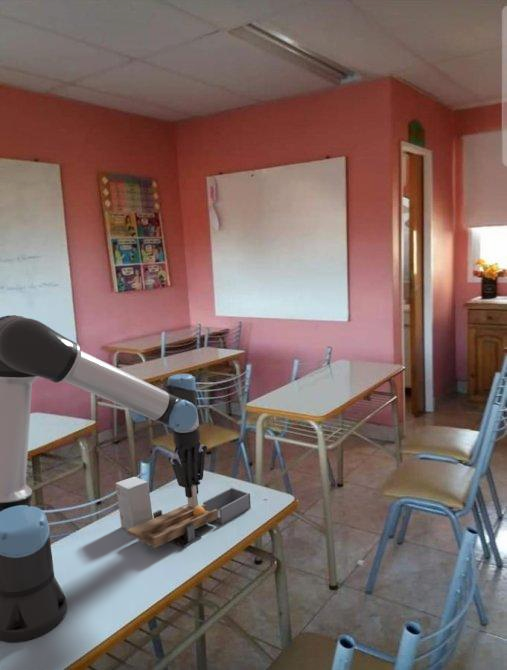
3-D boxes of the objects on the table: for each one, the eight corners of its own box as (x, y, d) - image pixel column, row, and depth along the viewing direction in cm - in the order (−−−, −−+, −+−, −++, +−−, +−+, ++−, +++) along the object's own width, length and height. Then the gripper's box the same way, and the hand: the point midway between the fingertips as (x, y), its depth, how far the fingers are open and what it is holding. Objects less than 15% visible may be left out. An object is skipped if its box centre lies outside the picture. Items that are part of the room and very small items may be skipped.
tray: (222, 524, 155) (221, 509, 154) (204, 516, 160) (203, 502, 159) (250, 507, 164) (249, 493, 163) (232, 501, 169) (231, 487, 168)
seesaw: (155, 547, 139) (154, 538, 138) (126, 533, 147) (126, 524, 146) (218, 518, 155) (217, 509, 155) (189, 506, 163) (189, 498, 163)
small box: (154, 526, 155) (148, 481, 154) (134, 534, 151) (127, 488, 150) (140, 518, 161) (134, 475, 160) (120, 526, 157) (114, 482, 156)
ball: (205, 505, 153) (208, 515, 154) (198, 502, 155) (200, 512, 156) (197, 511, 151) (199, 521, 151) (189, 508, 153) (192, 518, 154)
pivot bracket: (184, 547, 144) (183, 531, 143) (148, 530, 154) (147, 515, 153) (201, 537, 148) (200, 522, 148) (165, 521, 158) (164, 507, 158)
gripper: (176, 437, 149) (184, 518, 153) (211, 424, 158) (218, 500, 162) (159, 432, 154) (167, 511, 158) (194, 419, 163) (200, 494, 167)
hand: (193, 505), depth 160 cm, fingers closed
